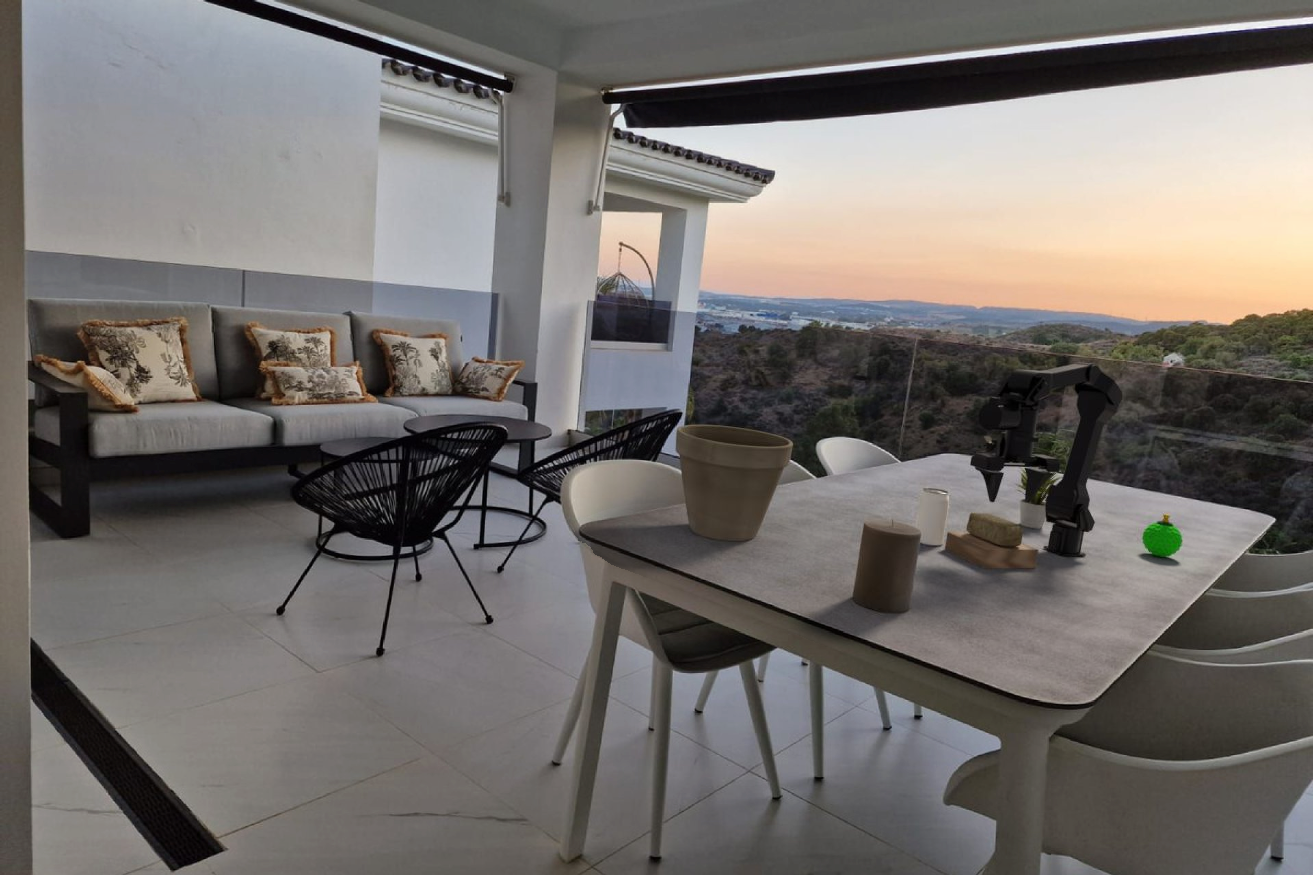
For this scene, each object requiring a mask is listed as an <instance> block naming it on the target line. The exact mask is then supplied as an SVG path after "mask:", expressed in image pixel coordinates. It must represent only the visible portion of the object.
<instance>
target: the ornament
mask: <svg viewBox="0 0 1313 875" xmlns="http://www.w3.org/2000/svg"><path fill="white" fill-rule="evenodd" d="M1162 516H1163V518H1162V520H1157V522H1152V523H1151V524H1149V525H1147V526H1146V527H1145V529H1144V531H1143V533H1141V534H1142V537H1141V539H1142V544H1143V546H1144V548H1145V549H1147V552H1149V553H1151V554H1152V555H1153V556H1156V557H1158V556H1161V557H1163V558H1165V557H1171V556H1172V555H1175V554H1176V553H1177V552H1179V551H1180V549H1181V547H1182V546H1183V545H1182V544H1183V541H1184V540H1183V536H1182V534H1181V531H1180V530H1179V529H1178V528H1177V526H1176V525H1174V524H1173V523H1172V522H1170V520H1169V518H1170V517H1171V515H1170V514H1168V513H1167V514H1165V513H1163V515H1162Z"/></svg>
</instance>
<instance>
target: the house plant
mask: <svg viewBox="0 0 1313 875" xmlns="http://www.w3.org/2000/svg"><path fill="white" fill-rule="evenodd" d="M1018 468H1019V469H1020V470H1021V471H1022V472H1021V471H1019V470H1017V472H1018V473H1019V474H1020V482H1021V484H1017V483H1014V485H1015V486H1017V487H1018V488H1019V487H1020V488H1021V489H1022V490H1024V491H1026V484H1027V474H1026V471H1025V469H1023V467H1018ZM1059 472H1061V470H1059ZM1059 472H1052V473H1054V476H1050V478H1049V479H1048V480H1047V481H1046V482H1045V483H1044V484H1043V486H1042V487H1041V488H1040V489H1039V491H1038V492H1037V493H1036V495H1035V496H1034V497H1033V499H1032V500H1031V501H1030V502H1029V503H1028V502H1025V498H1021V499H1020V501H1019V502H1020V503H1019V505H1020V506H1019V508H1020V521H1019V523H1020V524H1019V525H1020V526H1021V527H1022V526H1023V527H1026V528H1031V529H1039V530H1040V529H1042V528H1043V526H1044V524H1045V521H1046V512H1045V503H1046V501H1045V499H1046V498H1047V495H1048V491H1049V487H1050V486H1051V485H1052V484H1053V485H1055V483H1056V482H1057V481H1059V480H1060V479H1061V480H1062V478H1063V476H1059V475H1057V474H1058V473H1059ZM1057 476H1059V477H1057ZM1022 490H1020V489H1016V490H1015V492H1021V493H1022V495H1024V496H1025V493H1024V492H1023V491H1022Z"/></svg>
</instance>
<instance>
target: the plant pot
mask: <svg viewBox="0 0 1313 875" xmlns="http://www.w3.org/2000/svg"><path fill="white" fill-rule="evenodd" d="M675 435H676V437H675V452H676V453H677V454H678V455H679V465H680V472H681V480H682V487H683V494H684V500H685V508H686V514H687V520H688V521H687V522H688V525H689V528H690V531H692V532H693V533H694V534H696V535H699V536H701V537H704V538H708V539H712V540H716V541H717V540H719V541H722V542H723V541H724V542H744V541H745V542H746V541H751V540H752V539H754V538H755V537H757V535H758V532H759V530H760V529H761V527H762V524H763V522H764V519H765V516H766V514H767V511H768V509H769V507H770V504H771V501H772V500H773V497H774V494H775V492H776V489H777V487H778V484H779V483H780V482H779V481H780V480H781V477H782V474H783V471H784V469H785V468H786V467H788V466H789V465H790V463H791V462H790V461H791V458H792V451H793V447H794V443H793V441H792V440H790V439H789V438H786V437H784V436H781V435H778V434H773V433H769V432H765V431H761V430H754V429H750V428H742V427H735V426H729V425H728V426H726V425H719V424H718V425H717V424H716V425H715V424H688V425H687V424H686V425H681V426H679V427H677V429H676V434H675Z"/></svg>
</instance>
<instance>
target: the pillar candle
mask: <svg viewBox="0 0 1313 875" xmlns="http://www.w3.org/2000/svg"><path fill="white" fill-rule="evenodd" d="M920 539H921V530H920V529H918V528H916V527H915V526H913V525H909V524H907V523H903V522H902V523H901V522H897V521H894V518H892V519H891V520H887V519H877V518H876V519H867V520H865V521H863V528H862V533H861V539H860V546H859V552H858V558H857V559H858V560H857V566H856V571H855V578H854V586H853V591H852V598H853V601H854V602H855V603H857V605H860V606H861V607H865V608H867V609H871V610H874V611H877V612H881V613H887V614H888V613H891V614H900V613H906V612H908V611H909V610H910V608H911V602H912V596H913V590H914V583H915V577H916V576H915V575H916V569H917V564H918V558H919V551H920V546H921V544H920Z"/></svg>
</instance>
